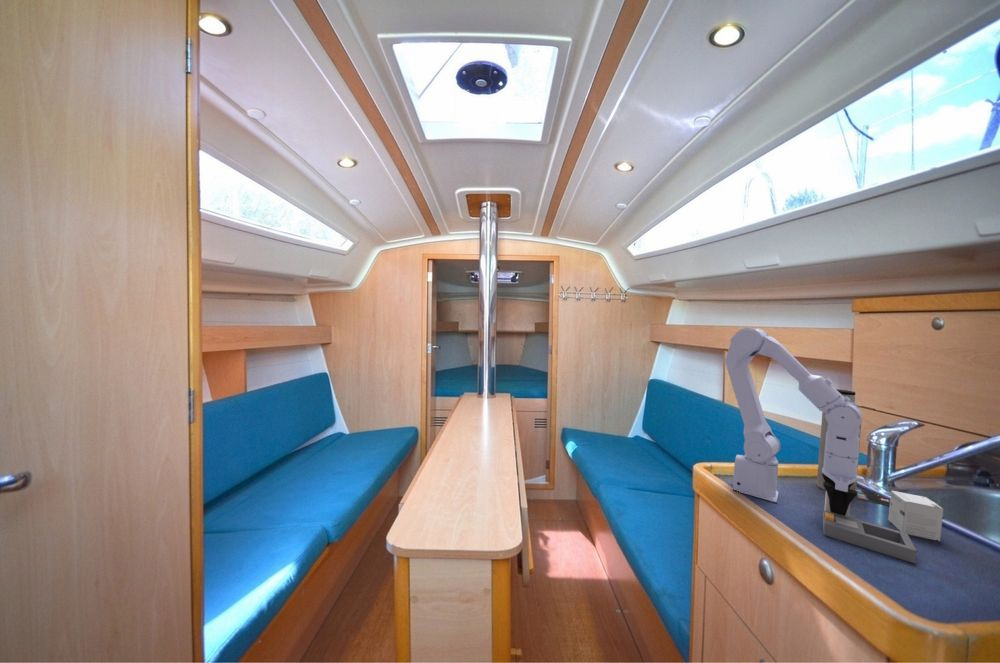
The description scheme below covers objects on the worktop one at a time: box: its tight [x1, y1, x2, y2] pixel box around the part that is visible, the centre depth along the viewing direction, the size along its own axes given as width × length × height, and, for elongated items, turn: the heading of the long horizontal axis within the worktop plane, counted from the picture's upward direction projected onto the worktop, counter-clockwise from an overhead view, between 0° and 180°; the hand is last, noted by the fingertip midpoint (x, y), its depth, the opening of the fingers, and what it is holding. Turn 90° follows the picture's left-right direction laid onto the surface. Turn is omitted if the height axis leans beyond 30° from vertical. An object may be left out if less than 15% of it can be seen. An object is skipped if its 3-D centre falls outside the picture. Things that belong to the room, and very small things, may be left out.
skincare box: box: [888, 490, 944, 542], centre depth 80 cm, size 6×6×7 cm
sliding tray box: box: [822, 509, 917, 564], centre depth 76 cm, size 13×8×3 cm, turn 50°
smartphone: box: [855, 488, 890, 507], centre depth 94 cm, size 8×15×1 cm, turn 56°
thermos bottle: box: [816, 388, 863, 491], centre depth 100 cm, size 8×8×28 cm
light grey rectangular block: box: [823, 490, 851, 517], centre depth 84 cm, size 4×4×7 cm
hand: (836, 511), depth 84 cm, fingers open, 5 cm apart
